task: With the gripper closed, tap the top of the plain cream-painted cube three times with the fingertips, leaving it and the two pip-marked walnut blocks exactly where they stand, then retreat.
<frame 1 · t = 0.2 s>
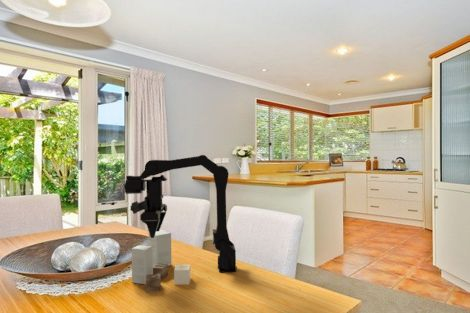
hand: (155, 234, 114), 14 cm above the table, fingers open, 9 cm apart
walnut block B: (159, 276, 110), on the table
cream block: (182, 281, 105), on the table
walnut block A: (153, 288, 100), on the table
skincare box: (142, 281, 105), on the table
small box: (160, 265, 121), on the table
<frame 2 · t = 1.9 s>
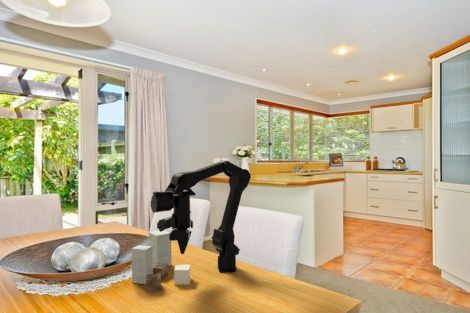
hand: (182, 253, 105), 10 cm above the table, fingers closed
nothing on the table moved.
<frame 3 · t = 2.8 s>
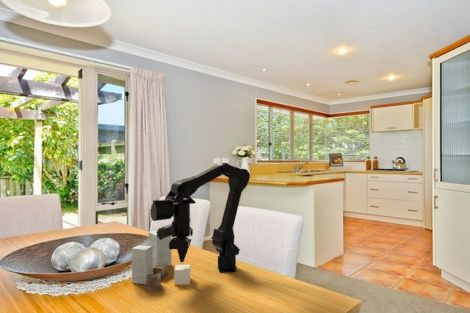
hand: (182, 261, 105), 7 cm above the table, fingers closed
nothing on the table moved.
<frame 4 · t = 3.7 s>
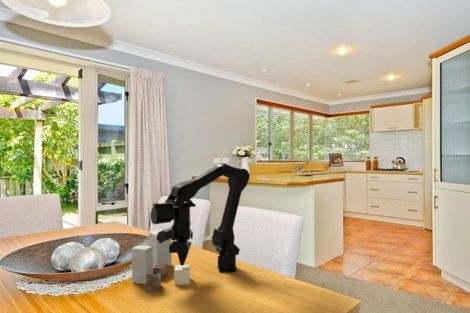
hand: (182, 265, 105), 6 cm above the table, fingers closed
nothing on the table moved.
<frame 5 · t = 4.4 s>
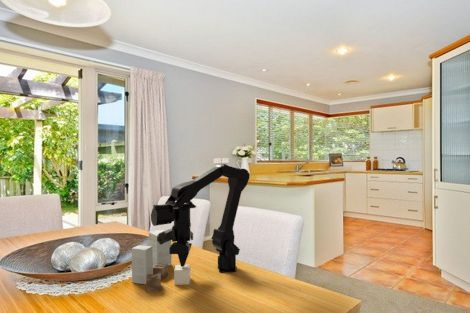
hand: (182, 266, 105), 5 cm above the table, fingers closed
nothing on the table moved.
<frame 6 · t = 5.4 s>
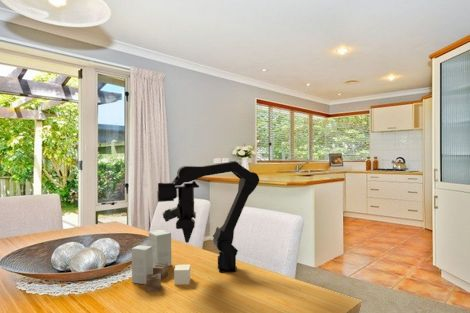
hand: (187, 242, 111), 12 cm above the table, fingers closed
nothing on the table moved.
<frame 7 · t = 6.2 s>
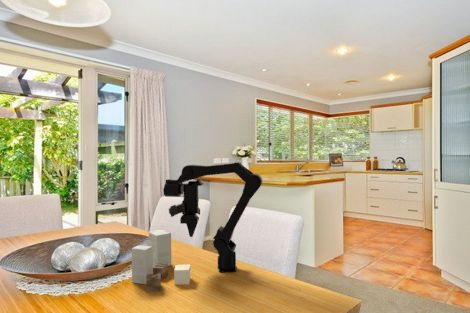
hand: (191, 236, 118), 12 cm above the table, fingers closed
nothing on the table moved.
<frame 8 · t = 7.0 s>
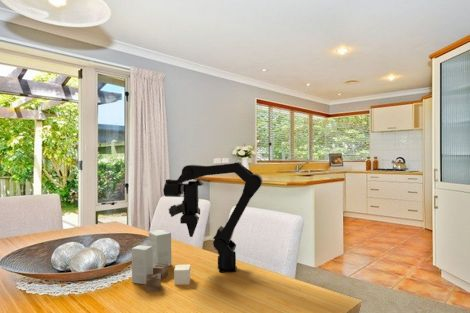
hand: (191, 236, 118), 12 cm above the table, fingers closed
nothing on the table moved.
at the end: cream block moved 0.1 cm from its start; cream block tilted 0°; cream block on the table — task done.
